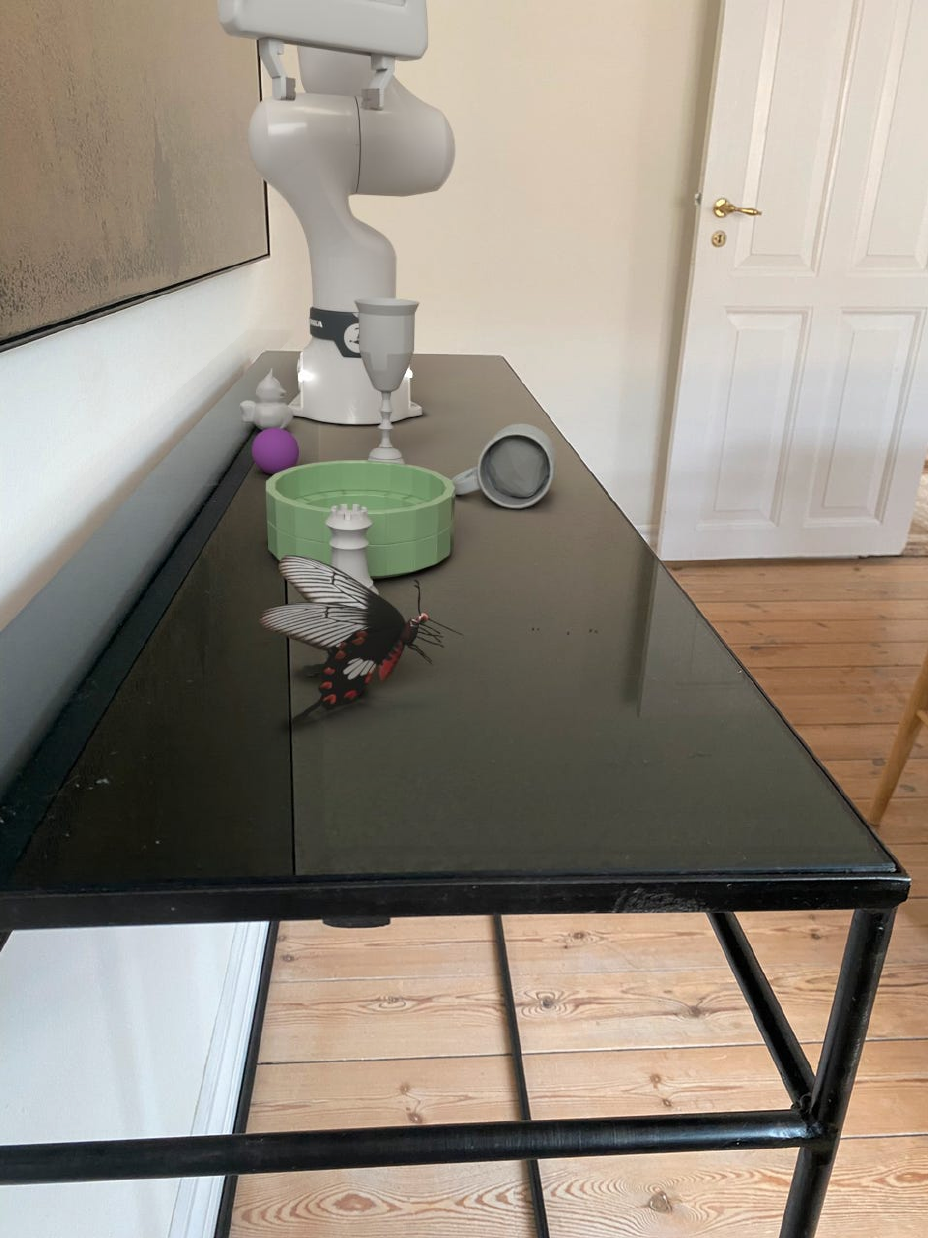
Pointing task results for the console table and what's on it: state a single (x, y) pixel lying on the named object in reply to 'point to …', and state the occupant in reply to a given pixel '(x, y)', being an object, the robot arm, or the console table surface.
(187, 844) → the console table surface
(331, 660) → the butterfly
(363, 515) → the rook chess piece
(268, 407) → the rubber duck
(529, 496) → the ceramic mug
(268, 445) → the ball
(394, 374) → the chalice
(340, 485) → the bowl
